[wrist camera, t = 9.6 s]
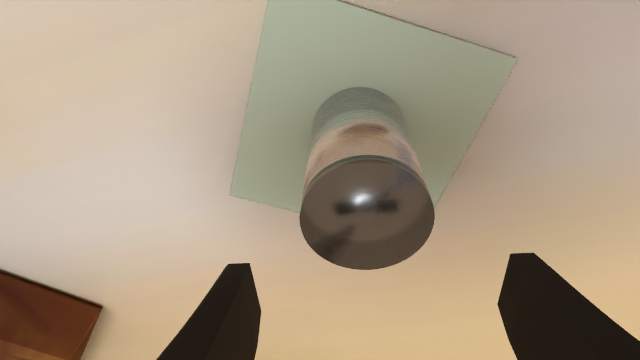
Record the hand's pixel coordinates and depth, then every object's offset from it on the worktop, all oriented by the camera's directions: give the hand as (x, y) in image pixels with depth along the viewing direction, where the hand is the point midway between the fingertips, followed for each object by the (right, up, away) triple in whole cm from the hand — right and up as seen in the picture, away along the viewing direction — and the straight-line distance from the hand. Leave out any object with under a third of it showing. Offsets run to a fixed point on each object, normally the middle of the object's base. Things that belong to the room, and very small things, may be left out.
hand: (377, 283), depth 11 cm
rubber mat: (0, +5, +8) cm, 10 cm away
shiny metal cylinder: (0, +5, +8) cm, 10 cm away
